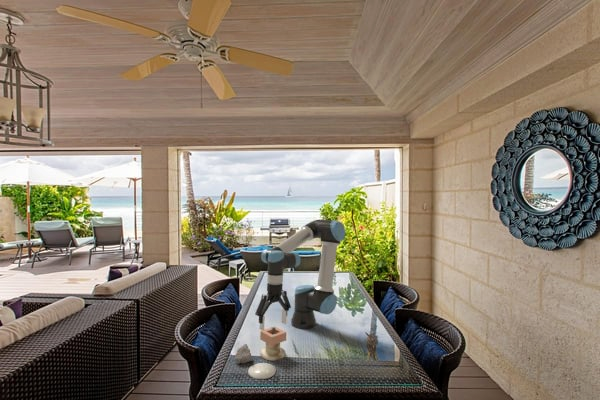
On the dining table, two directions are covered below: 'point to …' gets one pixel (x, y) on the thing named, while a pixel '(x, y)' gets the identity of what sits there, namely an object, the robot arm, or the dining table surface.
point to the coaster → (262, 371)
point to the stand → (272, 351)
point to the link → (273, 336)
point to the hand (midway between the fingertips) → (273, 326)
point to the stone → (243, 355)
